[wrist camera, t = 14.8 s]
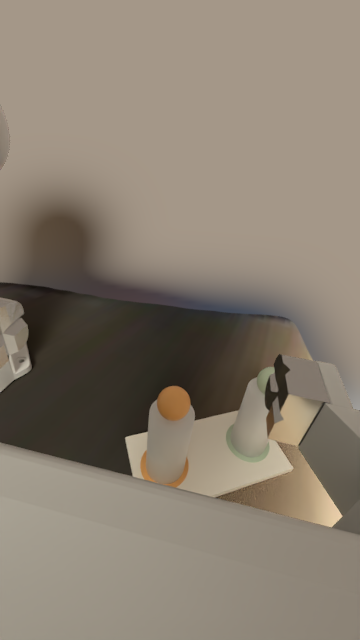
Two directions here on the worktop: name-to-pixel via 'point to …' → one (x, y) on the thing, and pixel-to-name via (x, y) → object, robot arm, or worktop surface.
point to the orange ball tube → (169, 435)
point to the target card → (214, 459)
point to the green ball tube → (252, 418)
